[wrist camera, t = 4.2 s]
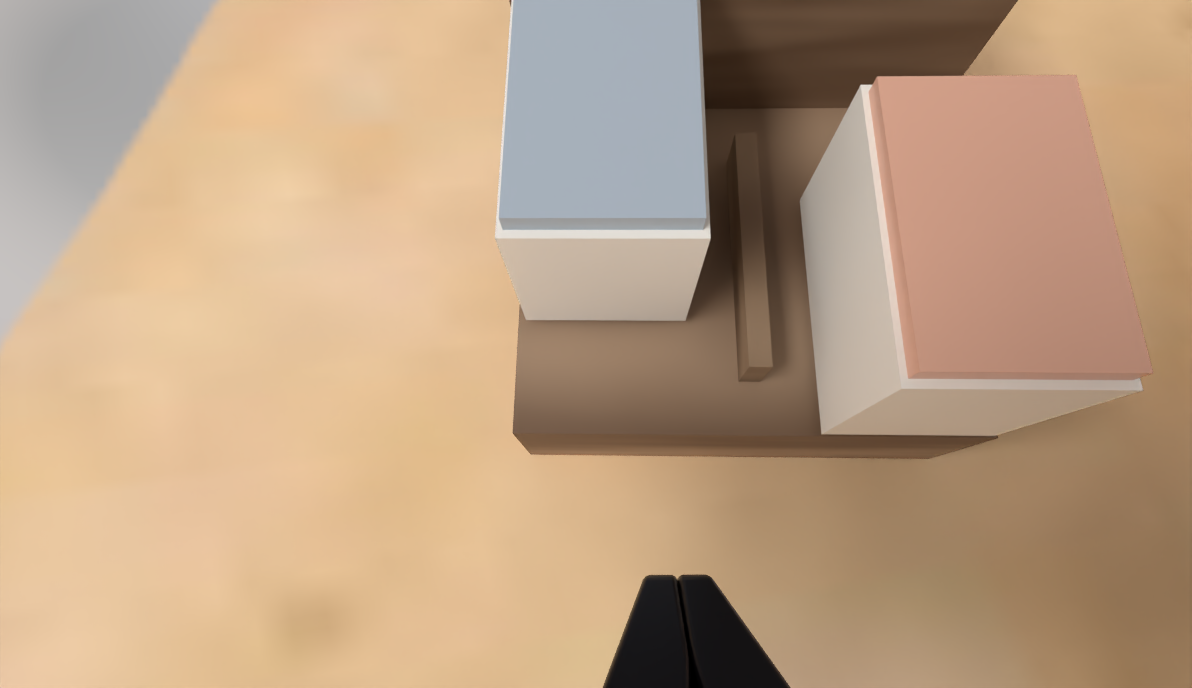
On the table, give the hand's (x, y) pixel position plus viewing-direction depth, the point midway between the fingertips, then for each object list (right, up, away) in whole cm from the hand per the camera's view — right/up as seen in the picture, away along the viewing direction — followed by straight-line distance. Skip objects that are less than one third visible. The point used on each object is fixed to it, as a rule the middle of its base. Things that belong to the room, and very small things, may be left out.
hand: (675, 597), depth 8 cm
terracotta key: (+7, +4, +10) cm, 13 cm away
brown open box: (+3, +5, +15) cm, 16 cm away
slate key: (-1, +7, +11) cm, 13 cm away
